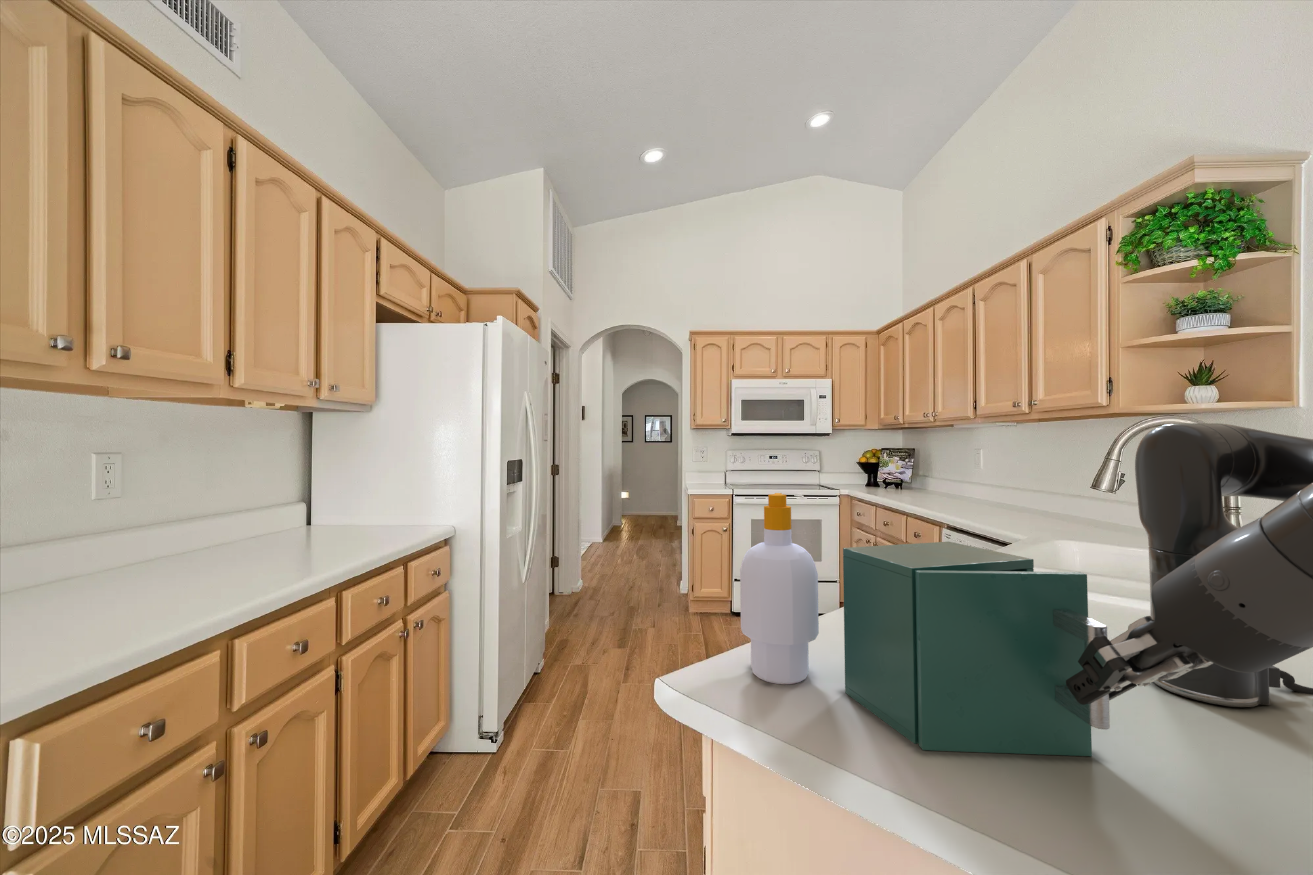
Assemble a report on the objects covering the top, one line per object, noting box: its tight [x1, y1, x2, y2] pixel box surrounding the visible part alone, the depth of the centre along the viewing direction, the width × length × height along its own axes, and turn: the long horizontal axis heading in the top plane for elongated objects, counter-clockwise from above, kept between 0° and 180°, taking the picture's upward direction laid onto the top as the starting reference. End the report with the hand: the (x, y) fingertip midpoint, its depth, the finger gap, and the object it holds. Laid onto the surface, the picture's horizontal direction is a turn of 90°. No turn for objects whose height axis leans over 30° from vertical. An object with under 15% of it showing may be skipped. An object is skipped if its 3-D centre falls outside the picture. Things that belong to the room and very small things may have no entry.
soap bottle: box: [739, 492, 820, 685], centre depth 72 cm, size 10×10×24 cm
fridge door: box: [915, 570, 1111, 757], centre depth 51 cm, size 6×16×18 cm, turn 85°
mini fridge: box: [842, 541, 1035, 745], centre depth 62 cm, size 12×16×18 cm
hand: (1085, 691), depth 49 cm, fingers closed on fridge door
